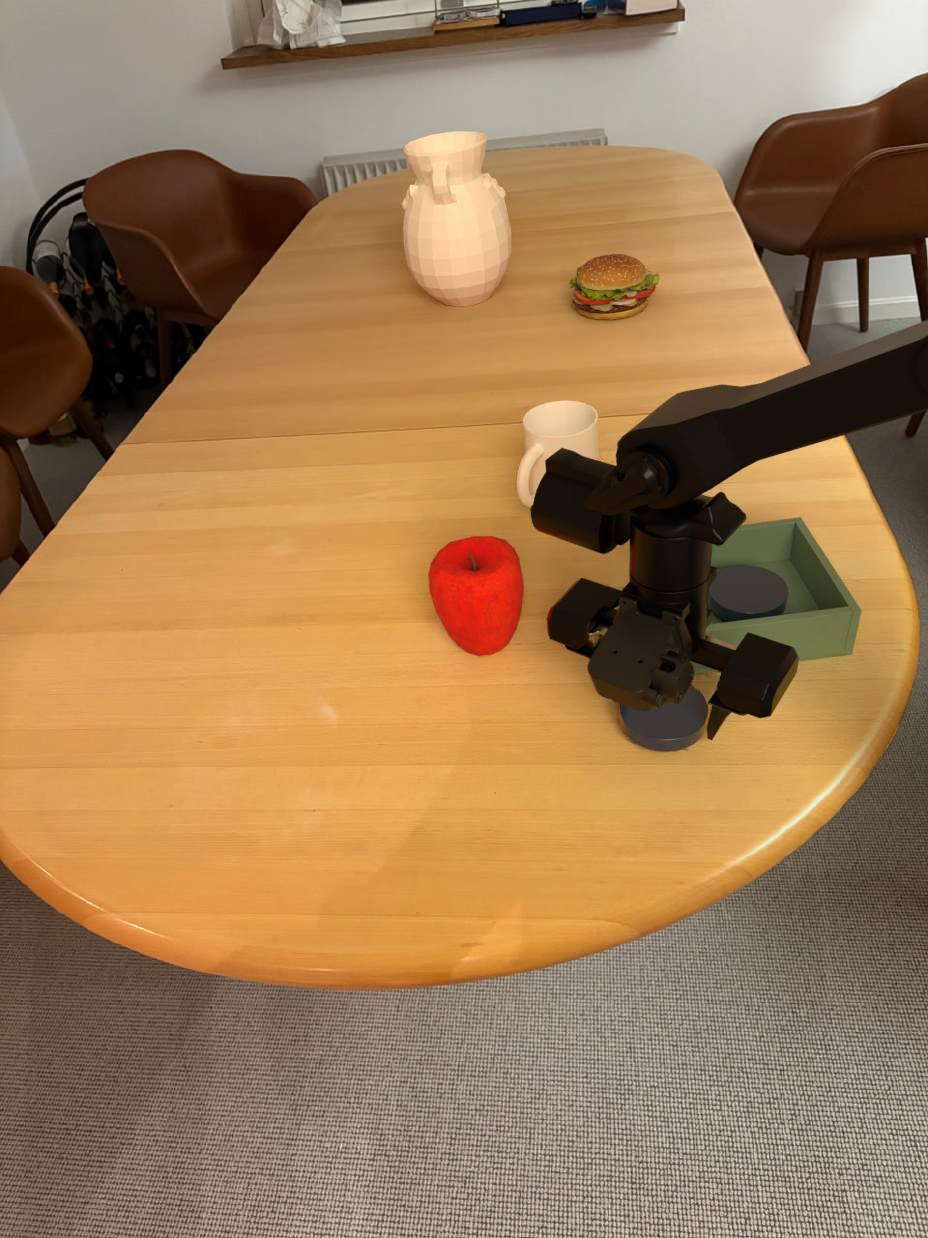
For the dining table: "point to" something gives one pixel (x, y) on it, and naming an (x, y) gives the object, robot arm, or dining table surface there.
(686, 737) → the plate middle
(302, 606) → the dining table surface
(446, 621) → the apple
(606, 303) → the food
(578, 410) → the mug
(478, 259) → the pitcher
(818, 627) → the tub
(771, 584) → the dark round disc
